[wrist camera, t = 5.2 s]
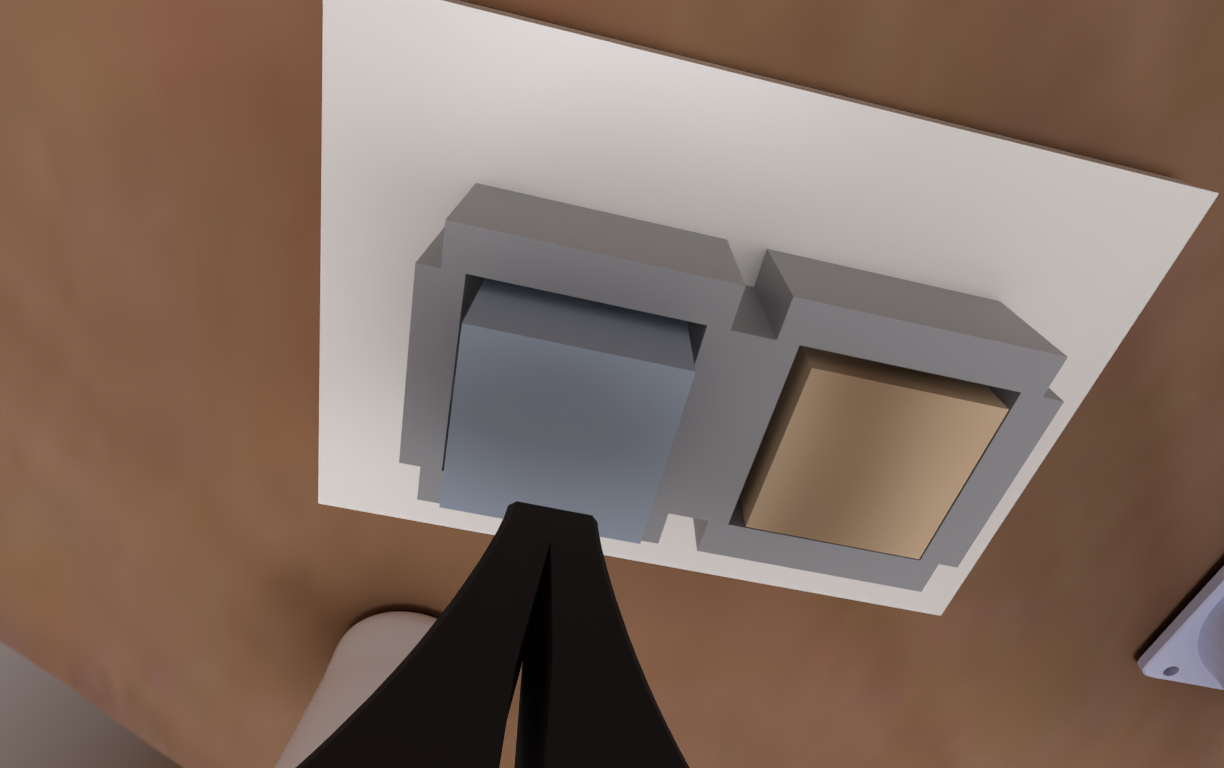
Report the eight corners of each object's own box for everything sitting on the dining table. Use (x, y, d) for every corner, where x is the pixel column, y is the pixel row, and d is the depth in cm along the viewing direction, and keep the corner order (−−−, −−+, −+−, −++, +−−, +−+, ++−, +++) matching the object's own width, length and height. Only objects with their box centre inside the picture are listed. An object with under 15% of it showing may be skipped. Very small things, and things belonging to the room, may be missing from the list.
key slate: (686, 317, 15) (695, 371, 13) (638, 474, 17) (639, 544, 15) (486, 274, 15) (461, 323, 12) (464, 441, 17) (439, 506, 15)
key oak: (959, 355, 17) (1009, 409, 14) (885, 494, 19) (918, 559, 17) (787, 318, 16) (811, 368, 14) (731, 464, 18) (746, 526, 16)
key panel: (1173, 178, 17) (1339, 232, 13) (923, 581, 24) (982, 698, 20) (349, -27, 15) (251, -36, 11) (336, 472, 22) (272, 577, 18)
